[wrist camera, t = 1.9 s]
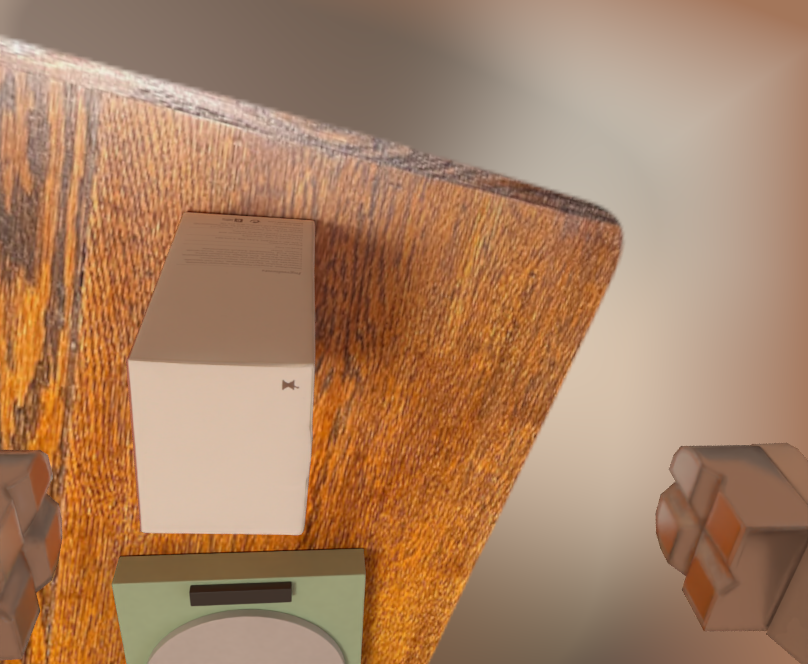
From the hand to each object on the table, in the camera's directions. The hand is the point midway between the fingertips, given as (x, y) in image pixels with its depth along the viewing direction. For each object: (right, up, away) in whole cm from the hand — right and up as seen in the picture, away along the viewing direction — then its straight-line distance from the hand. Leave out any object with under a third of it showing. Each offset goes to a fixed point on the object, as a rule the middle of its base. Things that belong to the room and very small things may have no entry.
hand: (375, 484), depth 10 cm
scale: (-10, -19, +42) cm, 47 cm away
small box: (-8, +4, +28) cm, 30 cm away
